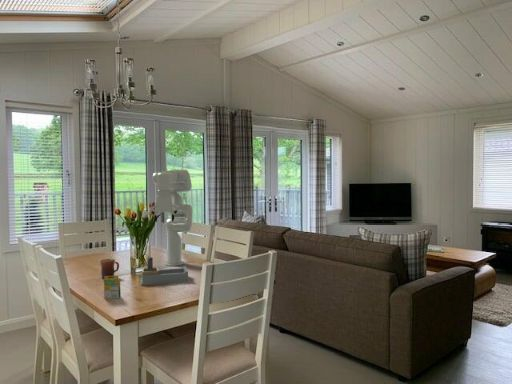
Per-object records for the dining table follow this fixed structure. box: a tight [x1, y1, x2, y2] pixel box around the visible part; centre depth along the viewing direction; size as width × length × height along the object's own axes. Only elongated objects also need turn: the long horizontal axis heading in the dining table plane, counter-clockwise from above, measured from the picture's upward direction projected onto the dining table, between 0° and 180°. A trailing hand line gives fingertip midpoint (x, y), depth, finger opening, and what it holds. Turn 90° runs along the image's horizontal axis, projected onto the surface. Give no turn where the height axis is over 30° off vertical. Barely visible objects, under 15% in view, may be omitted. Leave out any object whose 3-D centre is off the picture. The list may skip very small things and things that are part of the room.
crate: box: [141, 256, 160, 277], centre depth 229 cm, size 9×9×12 cm
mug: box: [99, 258, 120, 279], centre depth 239 cm, size 12×9×10 cm
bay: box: [140, 266, 189, 286], centre depth 232 cm, size 13×26×6 cm, turn 106°
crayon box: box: [103, 275, 121, 300], centre depth 200 cm, size 7×3×12 cm, turn 92°
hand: (164, 221), depth 241 cm, fingers open, 9 cm apart
